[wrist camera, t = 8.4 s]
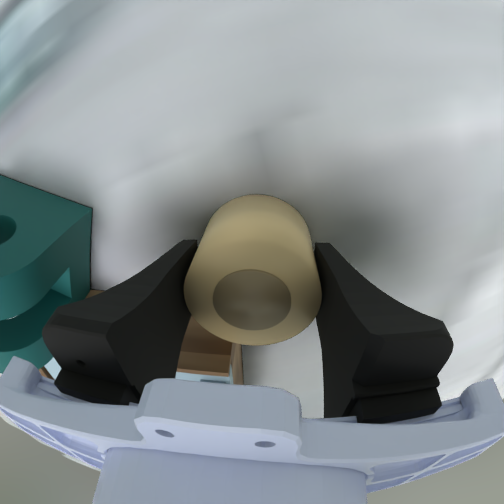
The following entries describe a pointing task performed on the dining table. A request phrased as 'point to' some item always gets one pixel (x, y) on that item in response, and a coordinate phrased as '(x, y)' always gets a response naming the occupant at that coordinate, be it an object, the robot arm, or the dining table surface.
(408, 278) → the dining table surface
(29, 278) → the bracket
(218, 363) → the pencil box
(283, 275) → the tape roll
